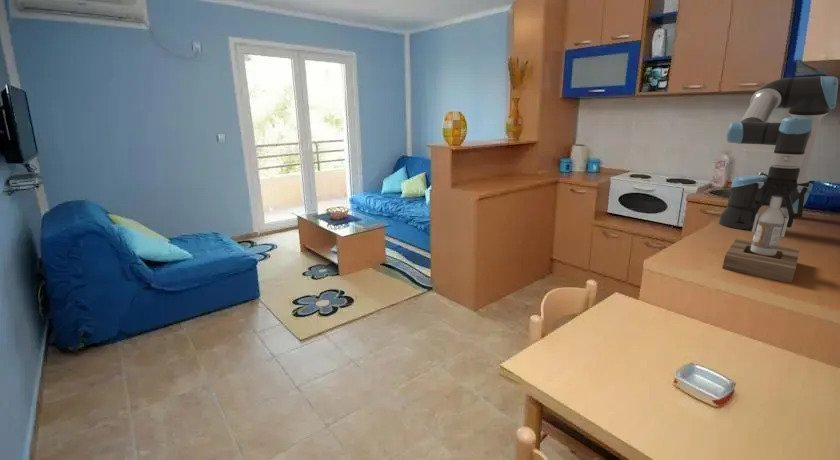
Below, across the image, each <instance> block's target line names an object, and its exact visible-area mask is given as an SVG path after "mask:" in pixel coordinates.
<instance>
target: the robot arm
mask: <svg viewBox="0 0 840 460" xmlns="http://www.w3.org/2000/svg"><path fill="white" fill-rule="evenodd" d="M838 88H839V79H838V78H837V77H836V76H829V75H828V76H826V75H825V76H823V75H818V76H801V77H783V78H779V79H776V80H773V81H770V82H768V83H766V84H764V85H763V86H761V87H760V88H758V89H757V90H755V92H754V93H753V94H752V96H751V98H750V100H749V106H748V108H747V110H746V111H745V113H744V115H743V117H742V118H741V120H740V121H733V122H731V123H730V124H729V125H728V128H727V132H726V142H728V143H729V144H738V145H740V144H742V145H743V144H744V145H764V146H765V145H767V146H774V150H773V153H772V157H771V160H770V165H771V166H769V169H768V173H767V175H761V174H751V175H749V174H748V175H739V176H736V177H734V178H733V180H732V183H731V186H730V193H729V197H728V200H727V205H726V208H725V210H724V211H723V212H722V214H721V216H720V217H719V221H718V223H719V225H722V226H724V227H728V228H732V229H738V230H747V231H748V230H749V231H750V230H751V233H755V229H756V225H757V221H758V218H759V216H760V214H761V213H760V212H759V210H760V209H761V208H762V207H763V206H764V207H769V205H770V201H771V197H772V196H781V197H783V200H782V204H781V207H780V208H784V209H787V210H788V214H789V217H787V216H786V217H785V223H784V226H783V230H782V234H781V238H784V237H785V234H786V230H787V228H792V225H793V222H794V220H795V219H796V218H802V217H803V213H804V206H805V205H806V202H807V201H808V199H809V196H810V195H811V194H810V193H811V192H812V189H813V188H814V187H813V186H814V183H811V182H810V181H811V178H810V177H808V176H807V172H808V169H809V165H810V161H811V158H812V155H813V150H814V148H815V147H814V146H815V144H816V139H817V136H818V133H819V130H820V125H821V122H822V119H823V117H825V116H826V115H828V114H829V112H830V110H832V109H835V108H836V105H837V99H838V90H839V89H838ZM775 109H789V110H788V115H789V116H791V117H785V118H783V119H782V120H781V122H769V119H770V117H771V115H772V114H773V112H774V110H775ZM793 209H794V211H793ZM795 210H796V213H795Z"/></svg>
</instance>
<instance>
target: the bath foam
mask: <svg viewBox="0 0 840 460" xmlns="http://www.w3.org/2000/svg"><path fill="white" fill-rule="evenodd" d="M782 200H783V197H781V196H772V197H771V201H770V205H769V206H767V207H766V208H765V209H764V210H763V211H762V212H761V213H760V214H759V218H758V221H757V225H756V229H755V232H753V233H754V234H753V237H752V240H751V241H752V245H751V251H752V252H753V253H756V254H759V255H765V256H774V255H776V252H777V249H778V246H780V242H781V238H782V237H781V234H782V230H783V226H784V223H785V219H786V217H785V216H784V214H783V212H782V210H781V208H780V207H781V204H782Z"/></svg>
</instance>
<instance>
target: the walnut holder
mask: <svg viewBox="0 0 840 460" xmlns="http://www.w3.org/2000/svg"><path fill="white" fill-rule="evenodd" d="M752 241H753V240H748V239H742V238H735V239H734V241H733V243H732V244H731V246H730V247H729V248H728V250H727V251H726V253H725V254H724V259H723V264H722V268H721V269H724V270H727V271H731V272H733V271H734V272H736V273H737V272H738V273H741V274H747V275H750V276H751V275H752V276H756V277H760V278H761V277H762V278H765V279H769V280H775V281H778V282H779V281H780V282H784V283H789V284H792V283H793V280H794V276H795V273H796V269H797V265H798V260H799V254H800V249H799V248H793V247H788V246H782V245H778V249H777V252H776V255H774V256H765V255H759V254H756V253H753V252H752V251H751V245H752Z"/></svg>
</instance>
